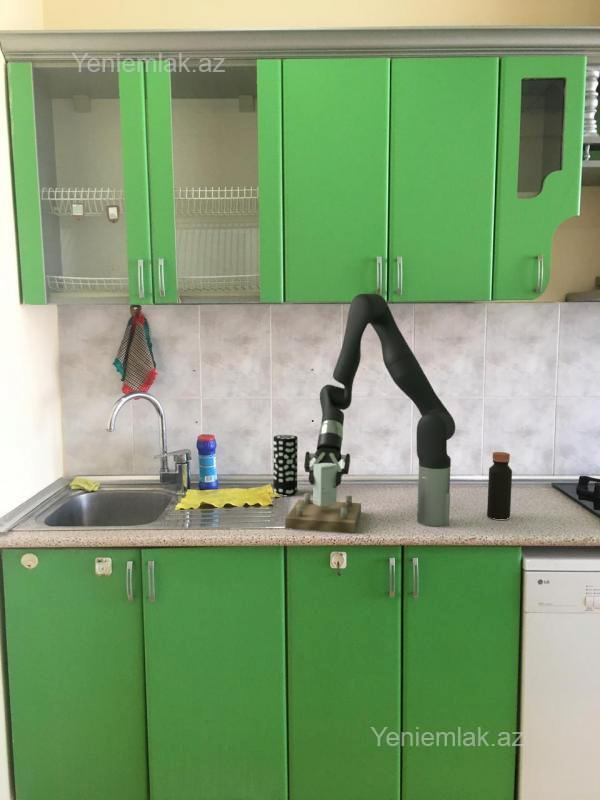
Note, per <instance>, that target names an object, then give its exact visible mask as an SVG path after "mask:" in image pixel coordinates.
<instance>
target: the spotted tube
mask: <svg viewBox="0 0 600 800" xmlns="http://www.w3.org/2000/svg"><path fill="white" fill-rule="evenodd" d="M298 439H299V438H298V436H297V435H293V434H278V435H274V436H273V474H272V475H273V479H272V480H273V484H272V485H273V486H272V487H273V489H272V490H274V492H276V493H278V494H280V495H287V497H292V496H293V497H294V496H296V495H297V494H298V447H299V446H298Z"/></svg>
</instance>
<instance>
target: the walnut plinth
mask: <svg viewBox="0 0 600 800" xmlns="http://www.w3.org/2000/svg"><path fill="white" fill-rule="evenodd" d="M361 513H362V503H361V502H353V496H352V495H346V496H345V502H344V501H336V504H333V505H327V506H321V507H320V506H318V505H315V504H314V503H313V499H312V500H311V493H309V492H305V493H304V499H297V501H296V503H295V504H294V506H293V507H292V508H291V510H290V511H289V513H288V514H287V516H286V517H285V518H284V519H285V521H284V522H285V524H284V526H285V527H284V528H285V529H286V528H292V529H291V530H300V529H302V531H305V530H306V531H316V532H318V531H319V532H331V533H344V534H345V533H348V534H355V533H356V530H357V528H358V524H357V523H359V519H360V517H361Z"/></svg>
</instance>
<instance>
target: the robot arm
mask: <svg viewBox="0 0 600 800" xmlns="http://www.w3.org/2000/svg"><path fill="white" fill-rule="evenodd" d="M348 309H349V310H348V314H347V318H346V319H347V320H346V326H345V331H344V334H343V335H344V336H343V340H342V345H341V348H340V352H339V355H338V358H337V361H336V364H335V367H334V369H333V373H332V378H333V379H334V380H335V381H336V382H338V383H339V384H341V385H342V386H344V387H341V386H336V385H333V384H326V385H324V386H323V387H322V388H321V389H320V393H319V401H320V406H321V413H322V416H321V421H320V422H321V423H320V428H319V431H318V438H317V446H316V450H315V452H314V453H311V452H310V451H306V452H305V456H304V465H303V468H304V471H305V473H308V483H309V484H310V485H313V474H314V464H320V463H333V464H336V465H337V474H336V486H337V487H339V486H340V485H341V483H342V477H343V475H349V473H350V472H349V471H350V465H351V455H350V453H346V454H342V453H341V452H342V448H343V447H342V445H343V439H344V422H345V421H344V420H345V414H344V412H343V411H345V410H347V409H348V408H350V406H351V404H352V399H353V386H354V380H355V378H356V375H357V371H358V368H359V367H360V362H361V355H362V351H361V350H362V348H361V347H362V346H361V345H362V338H363V335H364V332H365V330H366V328H367V326H368V325H369V324H370V325H371V327H372V328H373V330H374V332H375V333H376V334H377V337H378V338H379V342H380V344H381V345H380V347H381V352H382V360H383V363H384V366H385V368H386V370H387V372H388V373H389V376H390V377H391V380H392V381H393V382H394V384H395V385H396V387H398V389H400V390H401V391H402V393H404V394H405V395H406V396H407V397H408V398H409V399H410V400H411V401H412V403H413V404H415V406H416V409H418V411H419V414H420V416H421V417H420V418H419V420H418V422H417V426H416V456H417V458H418V480H417V481H418V482H417V483H418V484H417V485H418V486H417V487H418V488H417V511H416V518H417V520H416V522H418V523H419V524H421V525H423V524H424V525H423V526H427V527H428V526H429V527H444V526H447V525H449V526H450V512H451V511H450V509H451V508H450V507H451V502H450V501H451V493H450V491H451V488H450V487H451V466H452V465H451V462H452V461H451V460H452V459H451V457H450V456H449V455H448V451H447V450H448V449H447V447H448V445H447V443H448V442H447V441H448V440H450V439H451V438H453V436H454V435H455V432H456V422H455V420H454V417H453V416H452V414H451V413H450V412H449V410H448V409H447V408H446V406H445V405H444V403H443V401H442V400H440V398H439V396H438V394H436V391H435V390H434V388H433V386H432V384H431V383H430V381H429V378H428V376H426V373H425V372H424V370H423V369H422V367H421V366H422V365H421V364H420V362H419V361H418V359H417V357H416V356H415V354H414V353H413V350H412V349H411V348H410V346H409V344H408V342H407V341H406V339H405V337H404V335H403V334H402V332H401V330H400V329H399V327H398V325H397V323H396V321H395V318H394V316H393V313H392V310H391V309H390V306H389V304H388V303H387V300H386V299H385V298H384V297H383V296H382V295H381V294H379V293H372V292H371V293H360V294H357V295H356V296H354V297H353V299H352V300H351V302H350V304H349V308H348ZM313 459H315V460H314V462H313V464H312V465H311V462H312V460H313ZM340 461H343V463H344V467H343V468H342V467H341V466H340V464H339V462H340ZM310 465H311V466H310Z"/></svg>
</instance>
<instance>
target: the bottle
mask: <svg viewBox="0 0 600 800" xmlns="http://www.w3.org/2000/svg"><path fill="white" fill-rule="evenodd" d="M510 455H511V454H510V453H509V452H504V451H495V452H493V453H492V463H493V464H492V465H491V466H490V467H489V469H488V488H487V507H486V510H487V511H486V517H488V518H489V517H491V518H495V519H507V518H509V517H510V518H511V506H512V505H511V503H512V484H513V483H512V482H513V481H512V479H513V469H512V468H511V467H510V466H509V463H510V459H511V458H510V457H511V456H510ZM491 518H490V519H491ZM510 518H509V519H510ZM495 519H494V520H495Z"/></svg>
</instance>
